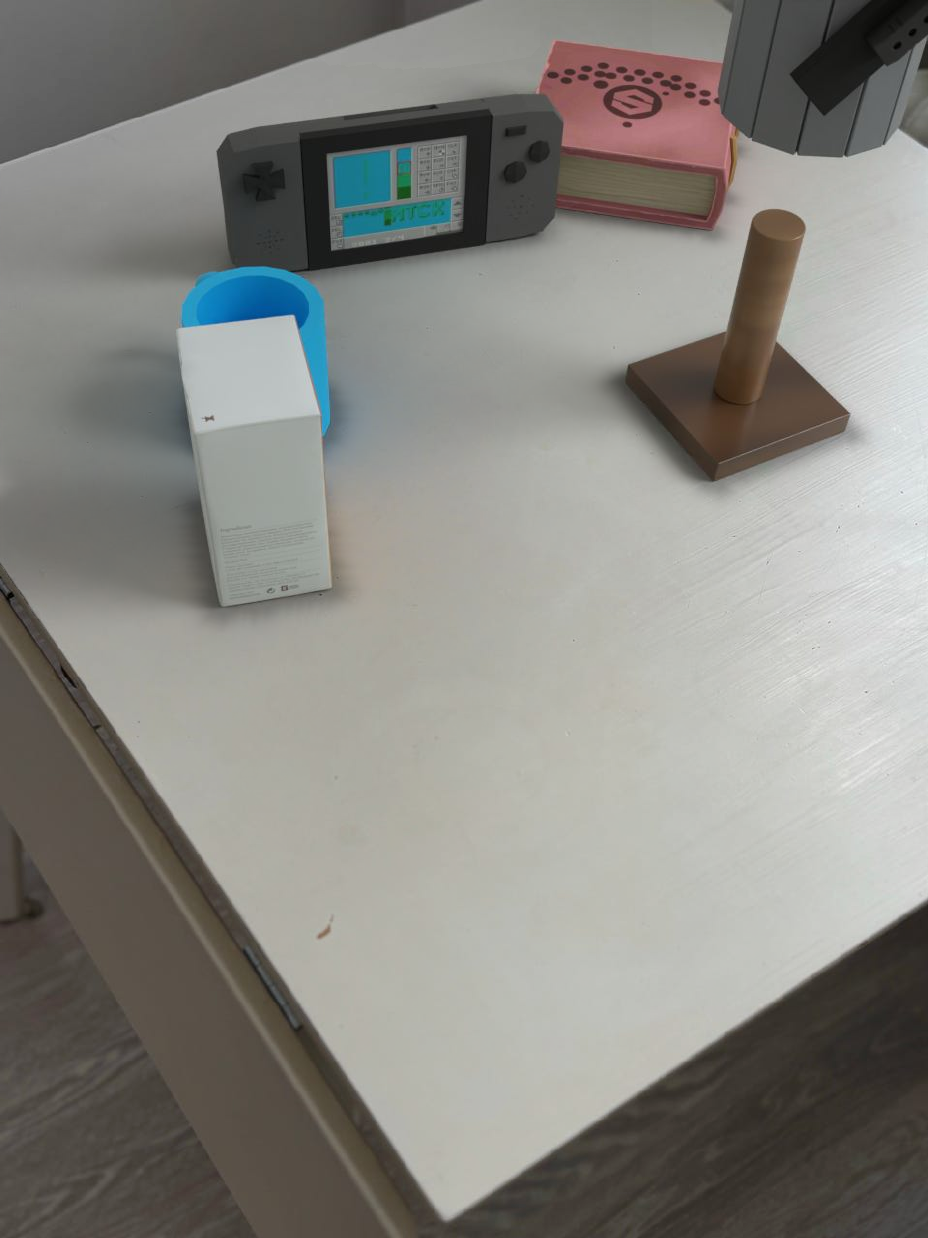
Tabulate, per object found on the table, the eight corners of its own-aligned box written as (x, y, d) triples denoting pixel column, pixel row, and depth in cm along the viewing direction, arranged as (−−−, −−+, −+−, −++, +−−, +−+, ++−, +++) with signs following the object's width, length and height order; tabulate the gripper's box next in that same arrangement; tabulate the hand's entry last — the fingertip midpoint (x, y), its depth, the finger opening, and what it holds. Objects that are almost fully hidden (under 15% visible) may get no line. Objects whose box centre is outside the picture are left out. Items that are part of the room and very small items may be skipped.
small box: (334, 591, 75) (323, 415, 65) (219, 610, 74) (190, 433, 64) (309, 488, 80) (295, 310, 70) (201, 505, 79) (171, 326, 69)
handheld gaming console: (236, 285, 92) (220, 153, 84) (229, 261, 94) (213, 129, 86) (555, 237, 97) (568, 107, 89) (543, 215, 98) (555, 85, 90)
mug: (354, 433, 83) (350, 326, 77) (234, 481, 80) (219, 374, 74) (265, 324, 89) (254, 217, 83) (150, 365, 86) (130, 258, 80)
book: (724, 231, 98) (737, 170, 94) (516, 201, 99) (520, 139, 95) (739, 126, 107) (751, 66, 103) (547, 99, 108) (553, 39, 104)
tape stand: (845, 431, 85) (907, 249, 74) (713, 481, 82) (759, 299, 71) (751, 338, 90) (796, 156, 80) (624, 382, 87) (654, 198, 77)
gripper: (1386, -183, 53) (896, 212, 62) (1095, -367, 66) (729, -18, 76) (1341, -339, 48) (816, 117, 57) (1036, -503, 61) (652, -111, 71)
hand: (767, 40), depth 67 cm, fingers closed on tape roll, 9 cm apart
